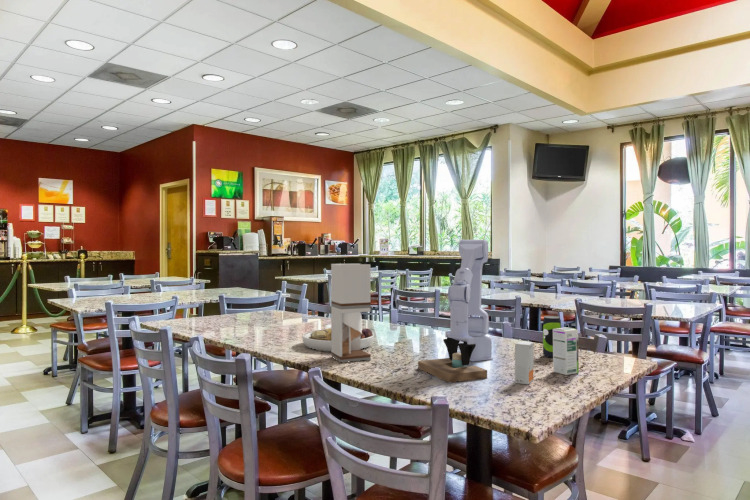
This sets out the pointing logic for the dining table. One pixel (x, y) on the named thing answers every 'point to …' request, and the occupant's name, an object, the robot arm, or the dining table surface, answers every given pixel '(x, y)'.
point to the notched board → (451, 370)
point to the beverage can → (549, 334)
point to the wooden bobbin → (457, 360)
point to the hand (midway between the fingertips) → (459, 362)
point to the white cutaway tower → (349, 310)
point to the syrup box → (565, 351)
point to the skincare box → (524, 362)
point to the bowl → (323, 339)
